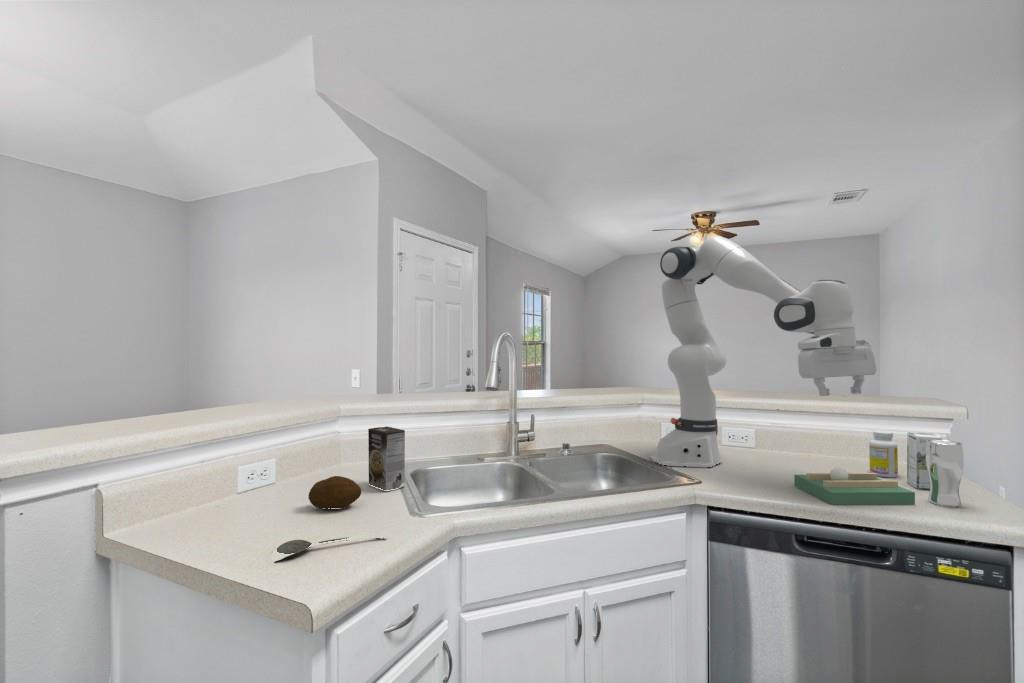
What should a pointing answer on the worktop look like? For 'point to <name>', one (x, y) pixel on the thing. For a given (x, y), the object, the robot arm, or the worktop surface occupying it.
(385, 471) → the coffee box
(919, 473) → the syrup box
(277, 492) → the worktop surface
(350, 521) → the worktop surface
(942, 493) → the beer glass
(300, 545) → the soupspoon
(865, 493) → the putting mat
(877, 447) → the supplement bottle
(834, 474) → the ball
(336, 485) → the potato
